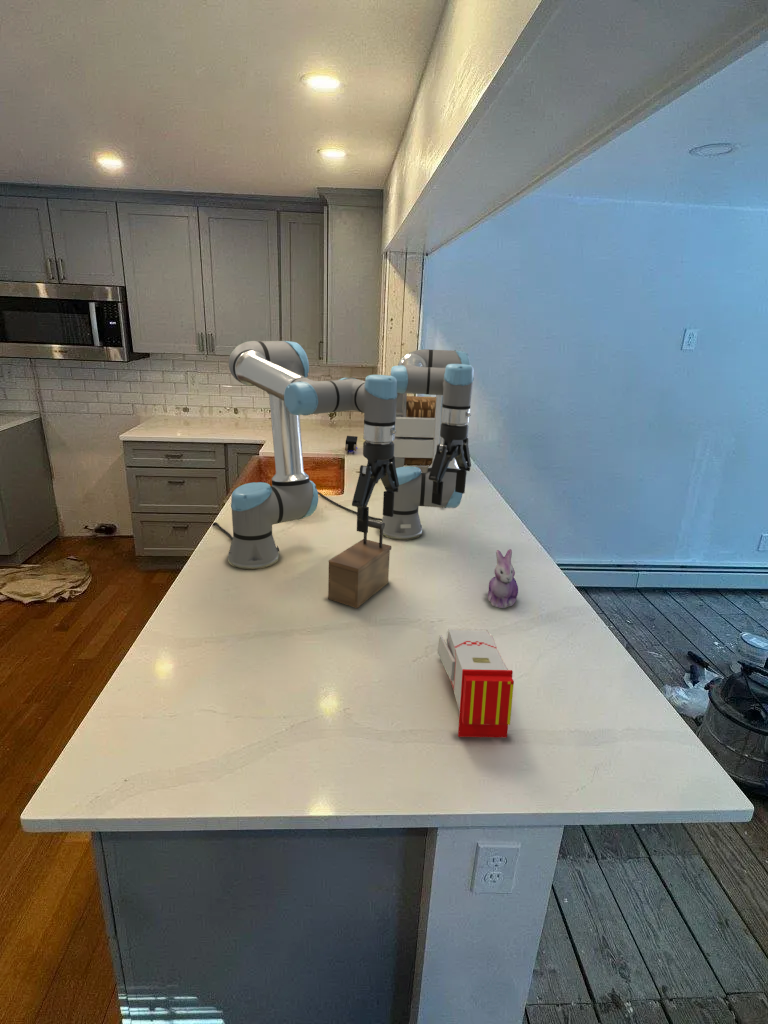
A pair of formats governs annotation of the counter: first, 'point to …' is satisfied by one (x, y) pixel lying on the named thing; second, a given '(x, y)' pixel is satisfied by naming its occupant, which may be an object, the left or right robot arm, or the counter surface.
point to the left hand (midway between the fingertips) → (375, 523)
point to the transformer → (414, 430)
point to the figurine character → (351, 444)
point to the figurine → (503, 582)
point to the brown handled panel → (362, 551)
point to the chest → (358, 582)
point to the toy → (478, 682)
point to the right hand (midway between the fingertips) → (448, 498)
